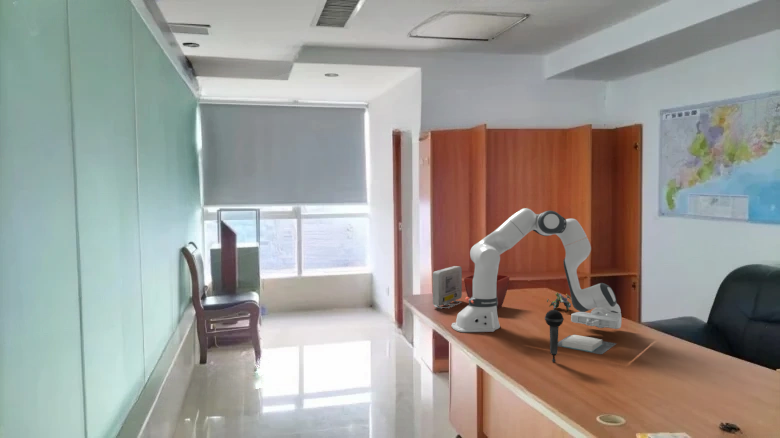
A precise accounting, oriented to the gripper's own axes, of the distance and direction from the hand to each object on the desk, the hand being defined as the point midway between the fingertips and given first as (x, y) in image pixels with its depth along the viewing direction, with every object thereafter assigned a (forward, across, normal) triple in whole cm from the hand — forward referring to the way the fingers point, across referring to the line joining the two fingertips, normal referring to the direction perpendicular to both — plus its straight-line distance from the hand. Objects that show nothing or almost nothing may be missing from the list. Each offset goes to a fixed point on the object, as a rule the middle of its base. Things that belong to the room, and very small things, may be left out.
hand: (589, 323), depth 233 cm
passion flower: (-48, -33, +8) cm, 59 cm away
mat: (+5, 0, +8) cm, 9 cm away
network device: (-24, -87, +8) cm, 91 cm away
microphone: (+32, -2, +8) cm, 33 cm away
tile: (+1, 0, +6) cm, 6 cm away
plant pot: (-31, -67, +8) cm, 74 cm away
